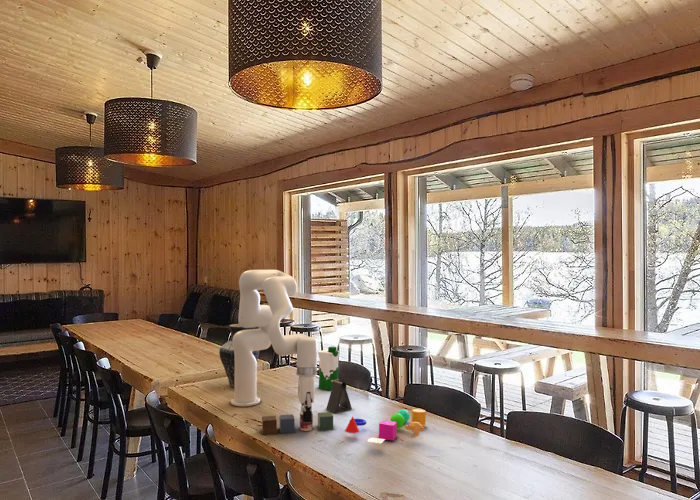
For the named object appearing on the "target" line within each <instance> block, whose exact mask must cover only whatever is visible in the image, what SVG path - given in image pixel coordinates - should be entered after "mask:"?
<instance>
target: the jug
mask: <svg viewBox="0 0 700 500" xmlns="http://www.w3.org/2000/svg"><path fill="white" fill-rule="evenodd" d="M229 329H230V339H229V340H228V341H226V342H225V343H224V344H222V345H221V346H220V347H219V352H218V353H219V354H218V355H219V359H220V361H221V364H222V366H223V368H224V371H225V374H226V377H227V379H228V383H229V386H230V387H233V388H235V356H234V348H233V336H234V335H235V334H236V333H237V332H239V331H242V330H250V328H244V327H241V326H240V325H239V323H233V324H229ZM260 351H261V350H258V351H252V354H253V355H254V357H255V358H256V361H257V362H258V360H259V355H260Z"/></svg>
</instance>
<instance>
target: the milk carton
mask: <svg viewBox="0 0 700 500" xmlns="http://www.w3.org/2000/svg"><path fill="white" fill-rule="evenodd" d="M337 349H338V348H337V347H336V346H328V348H326V349H323V350H317V355H318V360H319V361H318V363H319V364H318V365H319V366H318V367H319V368H318V369H319V370H318V371H319V372H318V373H319V374H318V375H319V376H318V389H321V390H325V391H329V392H331V390H332V382H333V380H336V381H337V380H339V358H340V355H341V354H340V353H341V351H340V350H337Z"/></svg>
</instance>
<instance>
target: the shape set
mask: <svg viewBox="0 0 700 500" xmlns="http://www.w3.org/2000/svg"><path fill="white" fill-rule="evenodd" d="M426 413H427V411H426V410H425V409H421V408H413V409H411V422H410V423H409V425H408V424H405V423H407V422H408V421H409V420H410V413H409V411H408V410H407V409H404V408H402V409H399V410H398V411H397V412H396V413H394V414H392V415H391V416H390V420H381V421H380V422H379V423H378V438H377V437H373V436H371V437H369V438H368V439H367V440H366V442H368V443H375V444H382V443H383V442H384V441H385V440H386V441H394V440H395V439H396V438H397V436H398V435H397V431H398V430H397V429H400V428H402V427H403V426H404V429H405V430H408V431H412V432H413V436H416V437H417V436H418V437H419V435H420V432H425V430H426V428H425V426H426V419H427V418H426ZM404 424H405V425H404ZM365 425H367V420H366V419H364V418H354V416H353V415H352V416H351V418H350V420H349V421H348V424H347V425H346V428H345V430H344V432H346V433H349V434H357V433H360V429H359V427H362V426H365Z"/></svg>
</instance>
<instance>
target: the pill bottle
mask: <svg viewBox="0 0 700 500" xmlns="http://www.w3.org/2000/svg"><path fill="white" fill-rule="evenodd" d="M303 411H304V405H303V406H300V412H299V430H301V431H304V432H309V431H312V430H313V428H314V425H313V424H314V412H313V411H312V421H311V422H303Z"/></svg>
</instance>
